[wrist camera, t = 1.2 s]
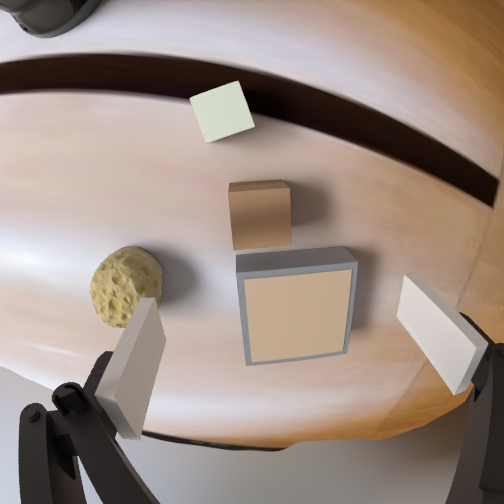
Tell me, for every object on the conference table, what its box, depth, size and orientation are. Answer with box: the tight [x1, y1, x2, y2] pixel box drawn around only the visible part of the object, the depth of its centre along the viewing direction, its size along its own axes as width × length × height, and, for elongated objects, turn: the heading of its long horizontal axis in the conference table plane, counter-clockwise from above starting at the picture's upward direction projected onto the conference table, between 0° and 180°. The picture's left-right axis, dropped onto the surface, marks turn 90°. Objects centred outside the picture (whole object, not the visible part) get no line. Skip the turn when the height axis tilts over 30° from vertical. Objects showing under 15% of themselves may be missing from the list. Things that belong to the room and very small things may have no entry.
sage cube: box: [190, 81, 255, 144], centre depth 28 cm, size 5×5×5 cm
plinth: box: [236, 246, 358, 366], centre depth 37 cm, size 14×14×5 cm
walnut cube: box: [228, 180, 292, 250], centre depth 32 cm, size 6×6×6 cm
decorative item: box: [90, 246, 163, 328], centre depth 35 cm, size 10×10×10 cm
